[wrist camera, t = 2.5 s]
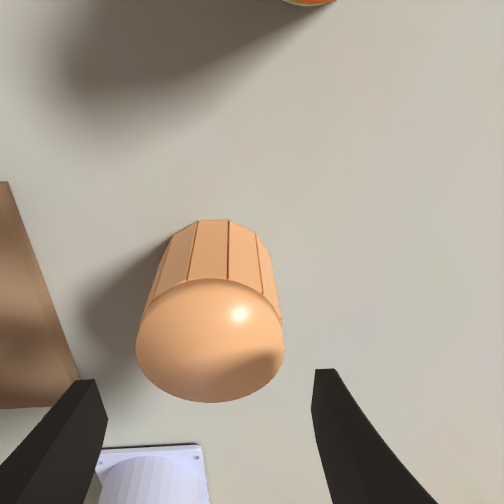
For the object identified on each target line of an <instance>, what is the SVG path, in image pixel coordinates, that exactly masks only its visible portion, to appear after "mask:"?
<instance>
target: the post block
mask: <svg viewBox="0 0 504 504" xmlns="http://www.w3.org/2000/svg"><path fill="white" fill-rule="evenodd" d="M75 380H81V379H80V376H79V374H78V371H77V368H76V365H75V363H74V360H73V357H72V355H71V352H70V349H69V347H68V344H67V341H66V338H65V336H64V333H63V330H62V328H61V325H60V322H59V319H58V317H57V314H56V311H55V309H54V306H53V303H52V300H51V298H50V295H49V292H48V290H47V287H46V284H45V281H44V279H43V276H42V273H41V271H40V268H39V265H38V262H37V260H36V257H35V254H34V252H33V249H32V246H31V243H30V241H29V238H28V235H27V233H26V230H25V227H24V224H23V222H22V219H21V216H20V214H19V211H18V208H17V205H16V203H15V200H14V197H13V195H12V192H11V189H10V186H9V184H8V182H0V409H10V408H30V407H51V406H54V404H55V403H56V402H57V401H58V400H59V399H60V397H61V396H62V395H63V394H64V393H65V391H66V390H67V389H68V388H69V387H70V386H71V384H72V383H73V382H74V381H75Z"/></svg>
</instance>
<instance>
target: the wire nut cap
mask: <svg viewBox="0 0 504 504" xmlns="http://www.w3.org/2000/svg"><path fill="white" fill-rule="evenodd" d="M139 327H140V329H139V332H138V335H137V339H136V343H135V353H136V358H137V361H138V364H139V366H140V368H141V370H142V372H143V373H144V374H145V376H146V377H147V378H148V379H149V380H150V381H151V382H152V383H153V384H154V385H156V386H157V387H158V388H160V389H161V390H163V391H165V392H167V393H169V394H171V395H173V396H176V397H178V398H181V399H185V400H189V401H195V402H204V403H217V402H226V401H231V400H236V399H239V398H242V397H245V396H248V395H250V394H252V393H254V392H256V391H258V390H259V389H261V388H262V387H264V386H265V385H266V384H267V383H269V382H270V380H271V379H272V378H273V377H274V376H275V375H276V373H277V372H278V370H279V368H280V366H281V364H282V361H283V358H284V351H285V350H284V340H283V334H282V317H281V312H280V307H279V301H278V296H277V291H276V285H275V280H274V274H273V269H272V264H271V258H270V254H269V253H268V251H267V250H266V248H265V247H264V245H263V243H262V242H261V240H260V239H259V237H258V236H257V234H255V232H253V231H251V230H248V229H246V228H244V227H242V226H240V225H238V224H236V223H234V222H232V221H229V223H228V220H212V221H199V223H198V222H195V223H193V224H192V225H190V226H188V227H187V228H185V229H183V230H181V231H180V232H178V233H176V234H175V235H173V236H172V238H171V240H170V242H169V244H168V246H167V248H166V250H165V252H164V254H163V256H162V258H161V261H160V264H159V267H158V270H157V273H156V276H155V279H154V282H153V285H152V288H151V291H150V294H149V297H148V299H147V302H146V305H145V308H144V311H143V314H142V317H141V320H140V323H139Z"/></svg>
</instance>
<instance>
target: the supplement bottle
mask: <svg viewBox="0 0 504 504" xmlns="http://www.w3.org/2000/svg"><path fill="white" fill-rule="evenodd" d="M283 1H285V2H288V3H291V4H295V5H300V6H316V5H322V4H326V3H330V2H332V1H335V0H283Z"/></svg>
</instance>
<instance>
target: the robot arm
mask: <svg viewBox="0 0 504 504" xmlns="http://www.w3.org/2000/svg"><path fill="white" fill-rule="evenodd" d="M311 413H312V419H313V426H314V432H315V438H316V443H317V447H318V450H319V454H320V458H321V462H322V465H323V469H324V473H325V477H326V480H327V484H328V488H329V491H330V495H331V499H332V503H333V504H438V503H437V502H436V501H435V500H434V499H433V498H432V497H431V496H430V495H429V493H428V492H427V491H426V490H425V489H424V488H423V487H422V486H421V485H420V484H419V482H418V481H417V480H416V479H415V478H414V477H413V476H412V475H411V473H410V472H409V471H408V470H407V469H406V468H405V466H404V465H403V464H402V463H401V462H400V460H399V459H398V458H397V457H396V455H395V454H394V453H393V452H392V450H391V449H390V448H389V447H388V445H387V444H386V443H385V442H384V440H383V439H382V438H381V436H380V435H379V434H378V432H377V431H376V430H375V428H374V427H373V425H372V424H371V423H370V421H369V420H368V419H367V417H366V416H365V414H364V413H363V412H362V410H361V409H360V407H359V406H358V404H357V403H356V401H355V400H354V398H353V397H352V395H351V394H350V392H349V391H348V389H347V387H346V386H345V384H344V383H343V381H342V379H341V378H340V376H339V374H338V372H337V371H336V370H335V369H316V370H315V378H314V387H313V395H312V404H311ZM107 423H108V417H107V414H106V411H105V408H104V405H103V403H102V400H101V397H100V394H99V391H98V388H97V385H96V382H95V379H92V380H75V381H74V382H73V383H72V384H71V386H70V387H69V388H68V389H67V390H66V391H65V393H64V394H63V395H62V396H61V397H60V399H59V400H58V401H57V402H56V403H55V404H54V406H53V407H52V408H51V409H50V410H49V412H48V413H47V414H46V415H45V416H44V417H43V419H42V420H41V421H40V422H39V423H38V424H37V425H36V427H35V428H34V429H33V430H32V431H31V432H30V433H29V435H28V436H27V437H26V438H25V439H24V440H23V441H22V442H21V444H20V445H19V446H18V447H17V448H16V449H15V450H14V451H13V452H12V453H11V454H10V456H9V457H8V458H7V459H6V460H5V461H4V462H3V463H2V464H1V465H0V504H83V502H84V499H85V497H86V494H87V491H88V488H89V485H90V482H91V479H92V477H93V474H94V471H96V473H97V476H98V478H99V480H100V483H101V485H102V491H101V494H100V498H99V501H98V504H210V503H209V496H208V488H207V481H206V474H205V467H204V459H203V452H202V448H201V446H199V445H180V446H162V447H143V448H125V449H107V450H101V449H102V445H103V441H104V436H105V432H106V427H107Z"/></svg>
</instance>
